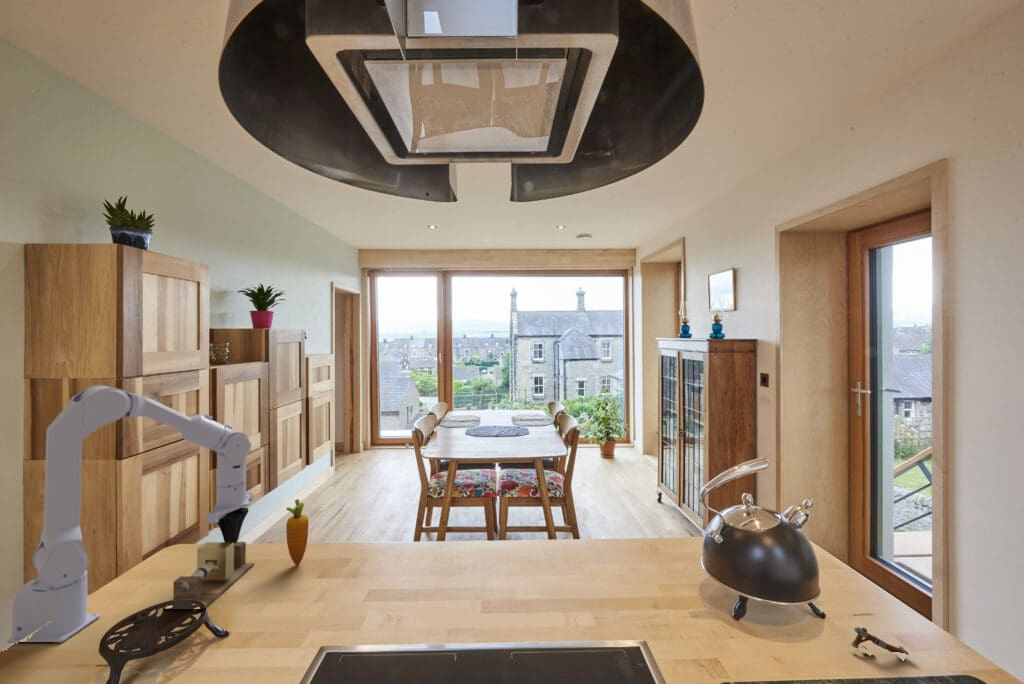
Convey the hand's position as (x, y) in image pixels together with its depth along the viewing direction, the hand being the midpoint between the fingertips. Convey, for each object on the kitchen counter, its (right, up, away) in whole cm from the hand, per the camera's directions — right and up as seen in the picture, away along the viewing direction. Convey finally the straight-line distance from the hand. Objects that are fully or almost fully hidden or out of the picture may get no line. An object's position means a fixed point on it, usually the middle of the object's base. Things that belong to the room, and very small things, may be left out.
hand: (231, 543), depth 106 cm
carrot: (+14, -7, +3) cm, 16 cm away
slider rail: (0, -6, -7) cm, 9 cm away
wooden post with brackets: (+125, -7, -28) cm, 129 cm away
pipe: (0, -3, -7) cm, 7 cm away
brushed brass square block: (0, -5, -6) cm, 7 cm away
